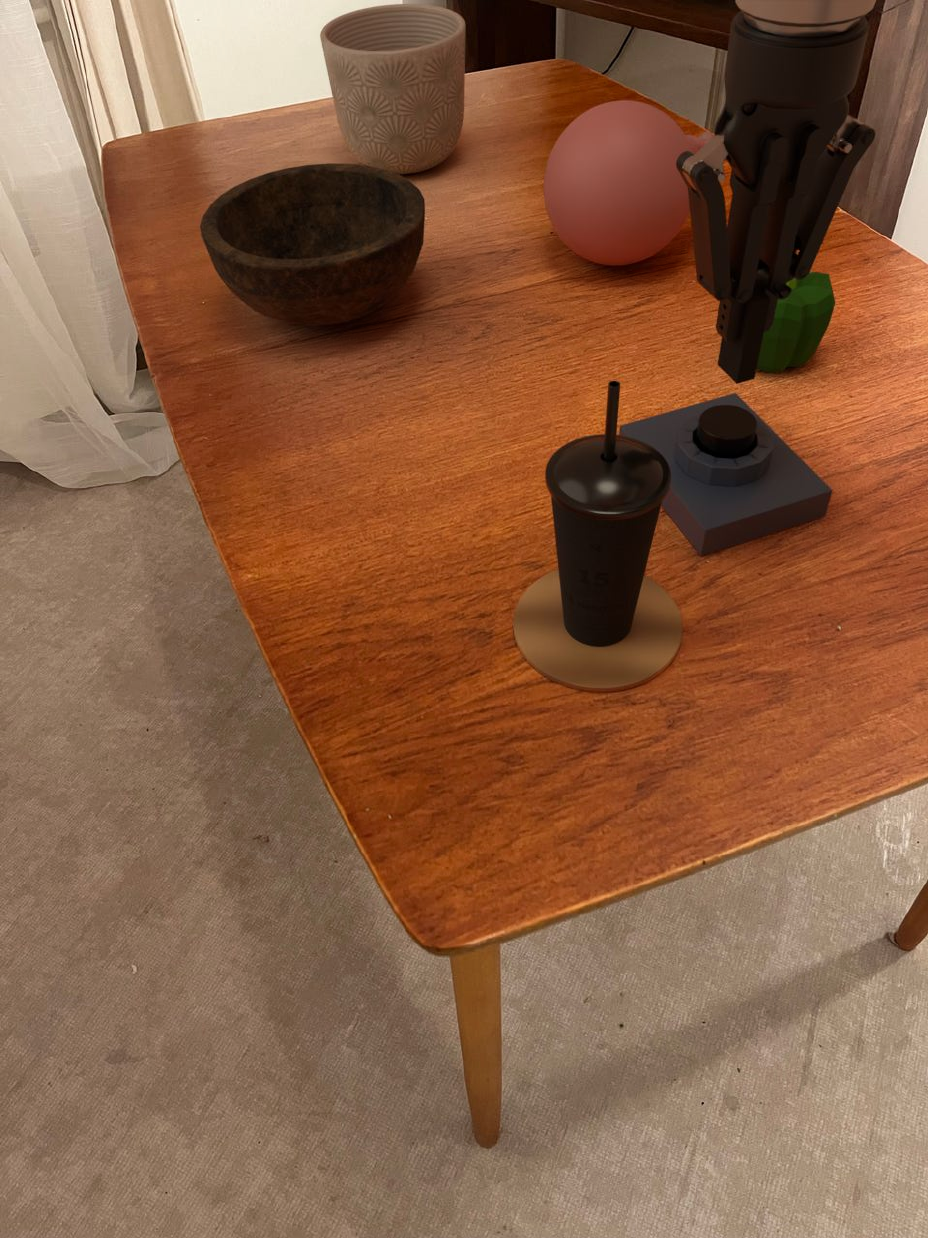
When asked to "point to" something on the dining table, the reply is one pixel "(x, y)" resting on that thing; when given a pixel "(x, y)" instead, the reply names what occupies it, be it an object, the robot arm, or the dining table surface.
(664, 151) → the balloon
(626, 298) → the dining table surface
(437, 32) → the planter
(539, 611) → the coaster
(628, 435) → the plate
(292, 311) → the bowl
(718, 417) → the button
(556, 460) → the drinking cup
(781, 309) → the bell pepper
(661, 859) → the dining table surface
